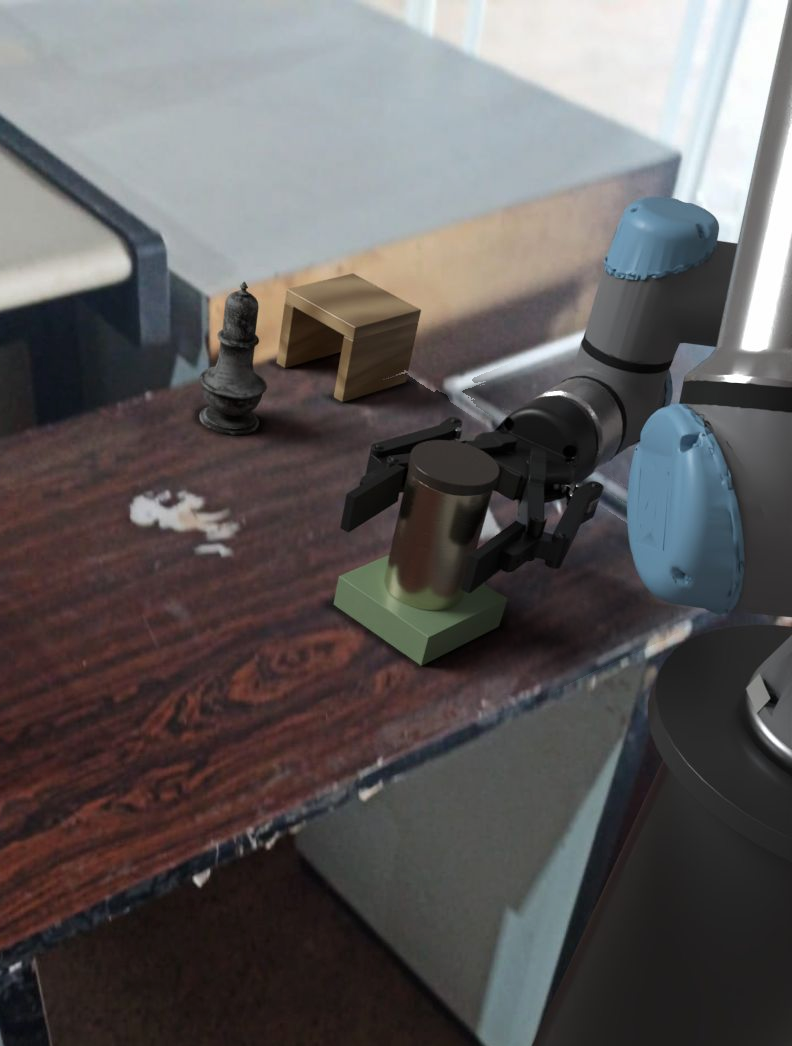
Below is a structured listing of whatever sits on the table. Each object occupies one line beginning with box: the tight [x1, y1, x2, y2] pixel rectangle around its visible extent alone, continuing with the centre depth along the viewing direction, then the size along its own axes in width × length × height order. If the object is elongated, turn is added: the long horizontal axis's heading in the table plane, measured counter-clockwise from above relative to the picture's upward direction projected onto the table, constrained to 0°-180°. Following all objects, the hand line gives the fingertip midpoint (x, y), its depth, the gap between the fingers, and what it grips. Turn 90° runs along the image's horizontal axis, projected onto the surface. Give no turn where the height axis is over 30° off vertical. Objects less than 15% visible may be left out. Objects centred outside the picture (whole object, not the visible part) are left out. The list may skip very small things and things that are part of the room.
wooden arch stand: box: [276, 273, 422, 403], centre depth 121 cm, size 9×9×7 cm
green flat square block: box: [333, 554, 508, 667], centre depth 95 cm, size 9×9×2 cm
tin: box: [384, 440, 499, 610], centre depth 91 cm, size 6×6×10 cm
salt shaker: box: [199, 281, 268, 436], centre depth 109 cm, size 6×6×12 cm
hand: (407, 543), depth 88 cm, fingers open, 9 cm apart
